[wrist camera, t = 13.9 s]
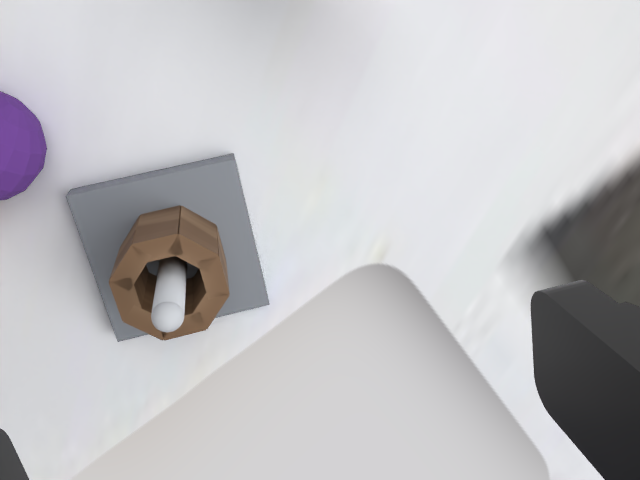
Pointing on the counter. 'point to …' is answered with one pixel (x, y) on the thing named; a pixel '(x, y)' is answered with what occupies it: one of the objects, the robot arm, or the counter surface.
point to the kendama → (19, 147)
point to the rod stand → (169, 299)
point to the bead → (162, 242)
